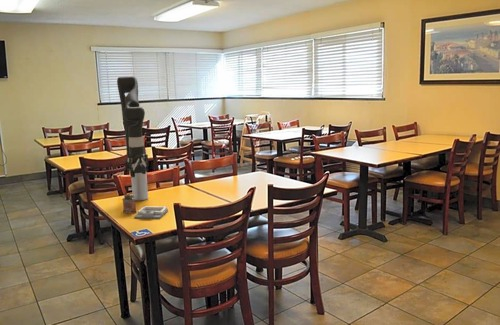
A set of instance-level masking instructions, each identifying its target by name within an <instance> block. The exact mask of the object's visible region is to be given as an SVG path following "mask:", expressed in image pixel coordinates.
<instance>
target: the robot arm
mask: <svg viewBox="0 0 500 325" xmlns="http://www.w3.org/2000/svg"><path fill="white" fill-rule="evenodd" d="M116 85H117V90H118V96H119V100H120V106H121V115H122V116H121V118H122V123H123V128H124V135H125V147H126V148H125V150H126V156H127V157H126V158H125V160H126V161H125V162H126V170H129V171H130V172H129V173H130V178H131V180H130V181H131V190H132V192H131V195H134V198H132V199H136V201H139V202H140V201H145V200H147V199H149V190H148V178H147V176H148V174H147V166H149V165H150V164H149V155H148V153H147V150H146V147H145V144H144V137H143V136H144V135H143V125H144V124H143V123H144V119H145V114H146V112H145V109H144V107H143V106H140V102H139V84H138V79H137V77H136V76H133V75H130V76H129V75H128V76H119V77H117V80H116Z"/></svg>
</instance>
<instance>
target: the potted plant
mask: <svg viewBox="0 0 500 325" xmlns="http://www.w3.org/2000/svg"><path fill="white" fill-rule="evenodd" d="M123 197H124V198H122V199H121V200H122V207H123V208H122V209H123V210H122V211H123V213H127V214H136V213H137V205H136V201H137V200H136V199H133V198H134V195H133V194H130V193H128V194H123Z"/></svg>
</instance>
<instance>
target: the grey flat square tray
mask: <svg viewBox="0 0 500 325" xmlns="http://www.w3.org/2000/svg"><path fill="white" fill-rule="evenodd" d="M168 211H169V209H168V206H152V205H151V206H149V205H147V206H146V205H145V206H143V207H141V208H140V209H139V210H138V211H137V214H136V215H135V216H134V219H145V220H146V219H148V220H160V219H162V218H163V216H165V215H166V214H167V212H168Z"/></svg>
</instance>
